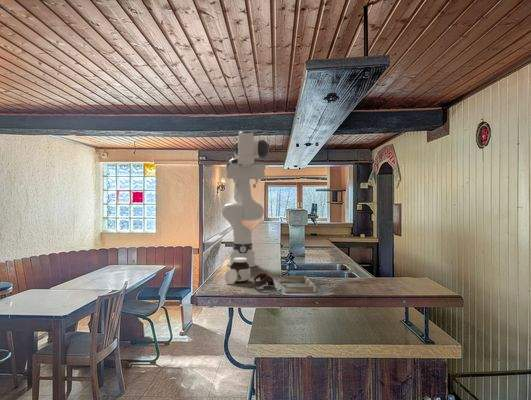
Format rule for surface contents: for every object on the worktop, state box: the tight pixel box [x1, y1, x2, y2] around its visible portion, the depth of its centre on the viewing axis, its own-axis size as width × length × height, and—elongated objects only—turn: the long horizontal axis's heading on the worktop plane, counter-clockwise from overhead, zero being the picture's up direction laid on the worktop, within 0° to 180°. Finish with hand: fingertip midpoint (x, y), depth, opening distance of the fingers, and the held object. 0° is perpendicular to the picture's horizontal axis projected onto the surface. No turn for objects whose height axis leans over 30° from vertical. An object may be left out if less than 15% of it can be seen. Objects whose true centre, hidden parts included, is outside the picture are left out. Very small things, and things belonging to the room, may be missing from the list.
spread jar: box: [224, 257, 251, 285], centre depth 174 cm, size 12×11×12 cm
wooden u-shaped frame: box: [277, 275, 317, 293], centre depth 167 cm, size 20×15×3 cm
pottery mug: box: [253, 271, 276, 289], centre depth 165 cm, size 12×10×8 cm
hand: (245, 187), depth 185 cm, fingers open, 8 cm apart
